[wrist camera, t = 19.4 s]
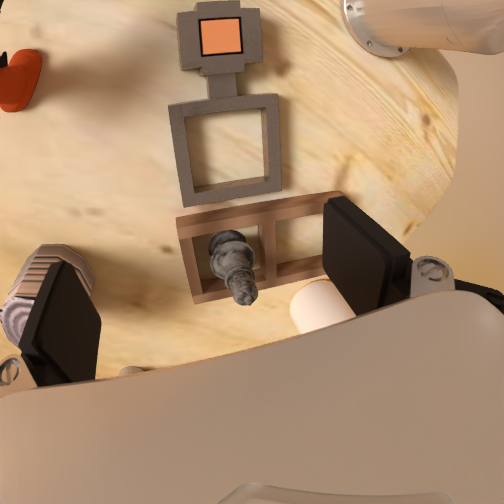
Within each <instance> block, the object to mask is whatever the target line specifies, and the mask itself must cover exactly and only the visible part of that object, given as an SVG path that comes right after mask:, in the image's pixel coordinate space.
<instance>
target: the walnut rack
mask: <svg viewBox="0 0 504 504" xmlns="http://www.w3.org/2000/svg"><path fill="white" fill-rule="evenodd" d="M338 196H344V195H343V194H342V193H340V192H339V191H331V192H324V193H317V194H310V195H303V196H296V197H290V198H284V199H277V200H271V201H265V202H259V203H253V204H247V205H241V206H236V207H230V208H225V209H219V210H214V211H208V212H203V213H198V214H193V215H187V216H182V217H177V218H176V226H177V232H178V237H179V242H180V246H181V251H182V255H183V260H184V264H185V268H186V273H187V277H188V281H189V285H190V289H191V293H192V297H193V301H194V304H199V303H204V302H209V301H213V300H218V299H223V298H227V297H232V296H233V295H232V292H231V290H229V289H228V288H227V286H226V285H225V280H224V279H221V278H219V277H217V278H213V279H208V280H203V281H200V278H199V273H198V268H197V263H196V258H195V253H194V248H193V243H192V238H191V237H195V236H200V235H205V234H210V233H216V232H221V231H226V230H231V229H236V228H242V227H247V226H252V225H258V236H259V253H260V269H255V270H253V272H254V274H255V279H254V282H255V284H256V287H257V289H258V291H259V290H263V289H267V288H271V287H276V286H280V285H284V284H288V283H293V282H297V281H301V280H305V279H309V278H313V277H317V276H321V275H325V274H326V273H325V271H324V269H323V265H322V255H318V256H314V257H309V258H305V259H301V260H296V261H292V262H287V263H282V264H278V265H276V224H275V221H280V220H285V219H291V218H296V217H302V216H308V215H314V214H319V213H323V207H324V203H327V201H328V199H329V198H333V197H338ZM345 197H346V196H345ZM346 198H347V197H346Z"/></svg>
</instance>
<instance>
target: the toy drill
mask: <svg viewBox="0 0 504 504" xmlns="http://www.w3.org/2000/svg"><path fill="white" fill-rule="evenodd" d="M3 1H4V0H0V9H1V6H2V4H3ZM0 12H1V11H0ZM41 63H42V62H41V57H40V55H39V53H38V52H37V51H35V50H31V49H23V50H19V51H17V52H16V53H15V54H14V55H13V57H12V59H11V60H10V63H9V65H8V61H7V53H6V52H3V54H2V55H1V56H0V107H1V109H2V110H4V111H5V112H18V111H20V110H22V109H24V108H25V107H26V106H27V104H28V103H29V101H30V99H31V97H32V95H33V92H34V90H35V87H36V84H37V81H38V78H39V74H40V70H41Z"/></svg>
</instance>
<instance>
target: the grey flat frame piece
mask: <svg viewBox="0 0 504 504" xmlns="http://www.w3.org/2000/svg"><path fill="white" fill-rule="evenodd" d="M226 19H239V32H240V46H241V52H238V53H237V54H233V55H220V56H209V57H201V52H200V40H199V27H198V24H200V22H201V21H210V20H226ZM176 23H177V35H178V47H179V58H180V68H181V70H187V69H194V68H199V75H200V76H205V75H206V82H207V93H208V99H202V100H195V101H189V102H182V103H176V104H170V105H168V109H169V117H170V124H171V131H172V138H173V145H174V152H175V159H176V165H177V171H178V177H179V183H180V189H181V195H182V201H183V206H184V208H186V207H191V206H196V205H201V204H207V203H212V202H218V201H223V200H229V199H235V198H241V197H246V196H253V195H259V194H265V193H271V192H278V191H282V189H281V154H280V127H279V104H278V94H276V93H263V94H249V95H237V86H236V74H235V73H236V72H245V64H250V63H259V62H263V51H262V37H261V23H260V10H259V8H240V0H234V1H212V2H198V3H196V6H195V8H194V11H190V12H182V13H177V17H176ZM251 108H261V121H262V139H263V157H264V176H262V177H255V178H249V179H242V180H236V181H230V182H224V183H218V184H212V185H206V186H201V187H195V188H194V187H193V181H192V174H191V167H190V160H189V153H188V145H187V138H186V130H185V122H184V117H187V116H194V115H200V114H207V113H215V112H223V111H231V110H241V109H251Z"/></svg>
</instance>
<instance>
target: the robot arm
mask: <svg viewBox="0 0 504 504" xmlns="http://www.w3.org/2000/svg"><path fill="white" fill-rule="evenodd" d="M341 12H342V17H343V20H344V22H345V25H346V27H347V29H348V31H349V32H350V34H351V35H352V37H353V38H354V39H355V41H356V42H357V43H358V44H359V45H360V46H361V47H363V48H364V49H366V50H367V51H368V52H370V53H372V54H374V55H377V56H381V57H397V56H400V55H402V54H404V53H406V52H407V51H408V50H409V49H410V47H415V48H433V49H445V50H454V51H464V52H470V53H478V54H485V55H495V54H499V53H502V52H503V51H504V0H341ZM322 265H323V269H324V271H325V273H326V274H327V276H328V277H329V278H330V280H331V281H332V282H333V284H334V285H335V287H336V288H337V289H338V291H339V292H340V294H341V295H342V296H343V298H344V299H345V301H346V302H347V304H348V305H349V306H350V308H351V309H352V311H353V312H354V314H355V315H356V317H353V318H350V319H347V320H344V321H341V322H338V323H335V324H332V325H329V326H326V327H323V328H319V329H316V330H313V331H310V332H306V333H303V334H300V335H296V336H293V337H290V338H286V339H283V340H279V341H276V342H272V343H268V344H265V345H261V346H257V347H254V348H250V349H246V350H242V351H238V352H234V353H230V354H226V355H222V356H218V357H213V358H209V359H205V360H200V361H196V362H191V363H186V364H182V365H177V366H172V367H167V368H162V369H156V370H151V371H146V372H140V373H134V374H129V375H122V376H116V377H110V378H103V379H96V380H95V374H96V364H97V355H98V347H99V339H100V332H101V318H100V316H99V314H98V312H97V310H96V309H95V307H94V305H93V303H92V301H91V300H90V298H89V296H88V294H87V292H86V290H85V289H84V287H83V285H82V283H81V281H80V279H79V277H78V275H77V273H76V271H75V269H74V267H73V265H72V264H71V263H68V262H67V261H66V260H62V261H59V262H55V263H52V264H51V265H50V266H49V269H48V271H47V273H46V275H45V277H44V280H43V282H42V284H41V286H40V289H39V291H38V293H37V296H36V298H35V301H34V303H33V306H32V308H31V311H30V313H29V316H28V319H27V321H26V324H25V327H24V330H23V333H22V335H21V338H20V341H19V344H18V347H19V348H20V350H21V351H22V353H21V356H20V355H17V354H11V355H9V356H7V357H5V358H4V359H3V360H2V361H1V362H0V504H504V295H503V294H502V293H501V292H499V291H498V290H494V289H492V288H488V287H484V286H480V285H476V284H473V283H469V282H464V281H461V280H457V279H454V275H453V271H452V269H451V267H450V266H449V265H448V264H447V263H446V262H445V261H443V260H441V259H439V258H436V257H432V256H422V257H419V258H416V259H415V260H414V261H413V260H412V259H411V258H410V252H409V251H408V250H407V249H406V248H405V247H404V246H403V245H402V244H401V243H399V242H398V241H397V240H396V239H395V238H394V237H393V236H392V235H390V234H389V233H388V232H387V231H386V230H385V229H384V228H382V227H381V226H380V225H379V224H378V223H377V222H375V221H374V220H373V219H372V218H371V217H369V216H368V215H367V214H366V213H365V212H363V211H362V210H361V209H360V208H359V207H357V206H356V205H355V204H354V203H353V202H351V201H350V200H349V199H348V198H346V197H345V196H338V197H333V198H329V199H328V201H327V203H324V207H323V253H322Z"/></svg>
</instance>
